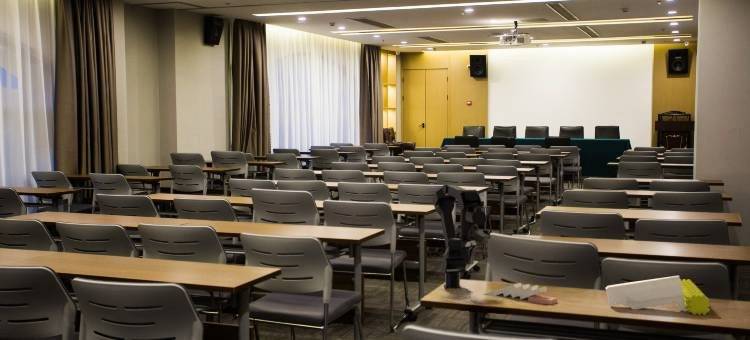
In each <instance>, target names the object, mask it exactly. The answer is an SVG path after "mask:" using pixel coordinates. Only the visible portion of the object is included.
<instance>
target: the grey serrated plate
mask: <svg viewBox="0 0 750 340" xmlns="http://www.w3.org/2000/svg"><path fill="white" fill-rule="evenodd" d="M495 291H496V290H494V291H489V292H487V293H483V294H482V295H483V296H490V297H495V298H502V299H507V300H513V301H517V302H525V303H529V304H536V305H541V303H538V302H532V301H528V298H524V299H520V296H518V297H514V298H512V296H511V295H509V296H505V297H504V295H503V294H499V295H496V293H495Z"/></svg>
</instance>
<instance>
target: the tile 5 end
mask: <svg viewBox="0 0 750 340" xmlns="http://www.w3.org/2000/svg"><path fill="white" fill-rule="evenodd" d="M528 301H532V302H538V303H540V304H544V305H546V304H547V305H553V304H554V305H555V304H557V303H558V297H553V296H546V295H540V294H536V295H533V296H529V297H528Z"/></svg>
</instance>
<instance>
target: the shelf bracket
mask: <svg viewBox="0 0 750 340" xmlns="http://www.w3.org/2000/svg"><path fill="white" fill-rule="evenodd" d="M680 279H681V278H680V275H672V276H667V277H659V278H652V279H645V280H639V281H630V282H624V283H618V284H617V283H615V284H611V285H606V287H605V292H606V296H607V301H608V302H607V303H608V305H610V306H615V305H617V306H619V305H622V306H625V307H629V308H630V309H631V310H640V309H641V310H642V309H646V308H652V307H659V306H664V305H665V306H666V305H670V304H671V303H672V302H675V303H676V307H677V308H678V309H679V310H681V311H683V312H687V307H686V306H685V302H684V297H683V290H682V285H681V282H680Z"/></svg>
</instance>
